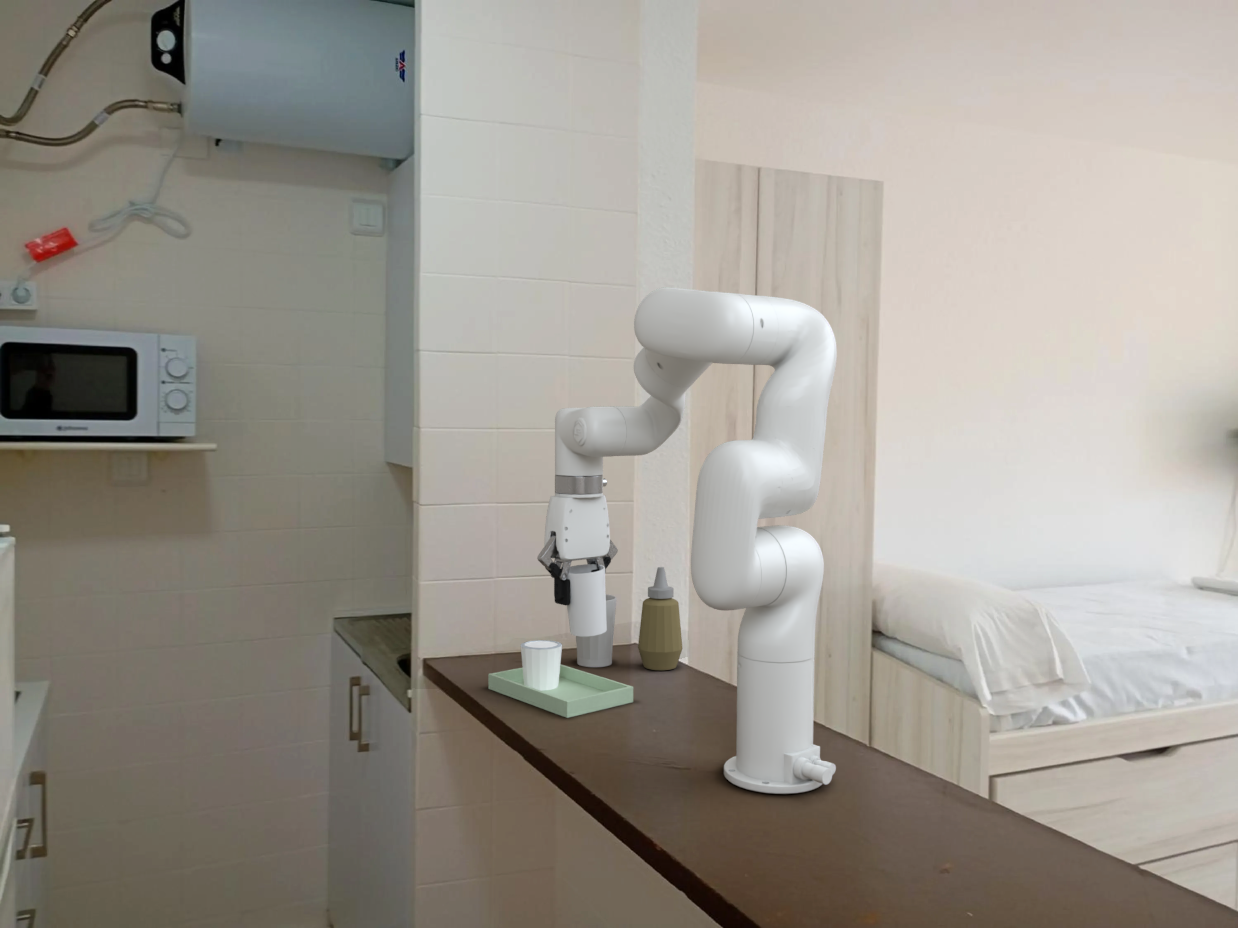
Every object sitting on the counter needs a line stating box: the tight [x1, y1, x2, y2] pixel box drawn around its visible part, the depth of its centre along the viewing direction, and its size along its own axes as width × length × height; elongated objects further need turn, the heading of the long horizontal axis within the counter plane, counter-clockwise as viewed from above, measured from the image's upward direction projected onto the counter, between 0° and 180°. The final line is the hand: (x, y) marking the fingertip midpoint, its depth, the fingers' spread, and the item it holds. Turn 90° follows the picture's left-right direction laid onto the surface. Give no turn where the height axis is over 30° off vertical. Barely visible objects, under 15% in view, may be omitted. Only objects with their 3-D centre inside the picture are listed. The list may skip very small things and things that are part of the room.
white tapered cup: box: [520, 639, 563, 691], centre depth 170 cm, size 7×7×7 cm
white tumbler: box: [566, 563, 607, 637], centre depth 162 cm, size 7×7×10 cm
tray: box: [487, 663, 634, 719], centre depth 166 cm, size 21×13×2 cm, turn 41°
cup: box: [575, 593, 618, 668], centre depth 188 cm, size 8×8×12 cm
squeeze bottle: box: [637, 566, 683, 671], centre depth 184 cm, size 8×8×18 cm
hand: (578, 600), depth 162 cm, fingers closed on white tumbler, 5 cm apart
